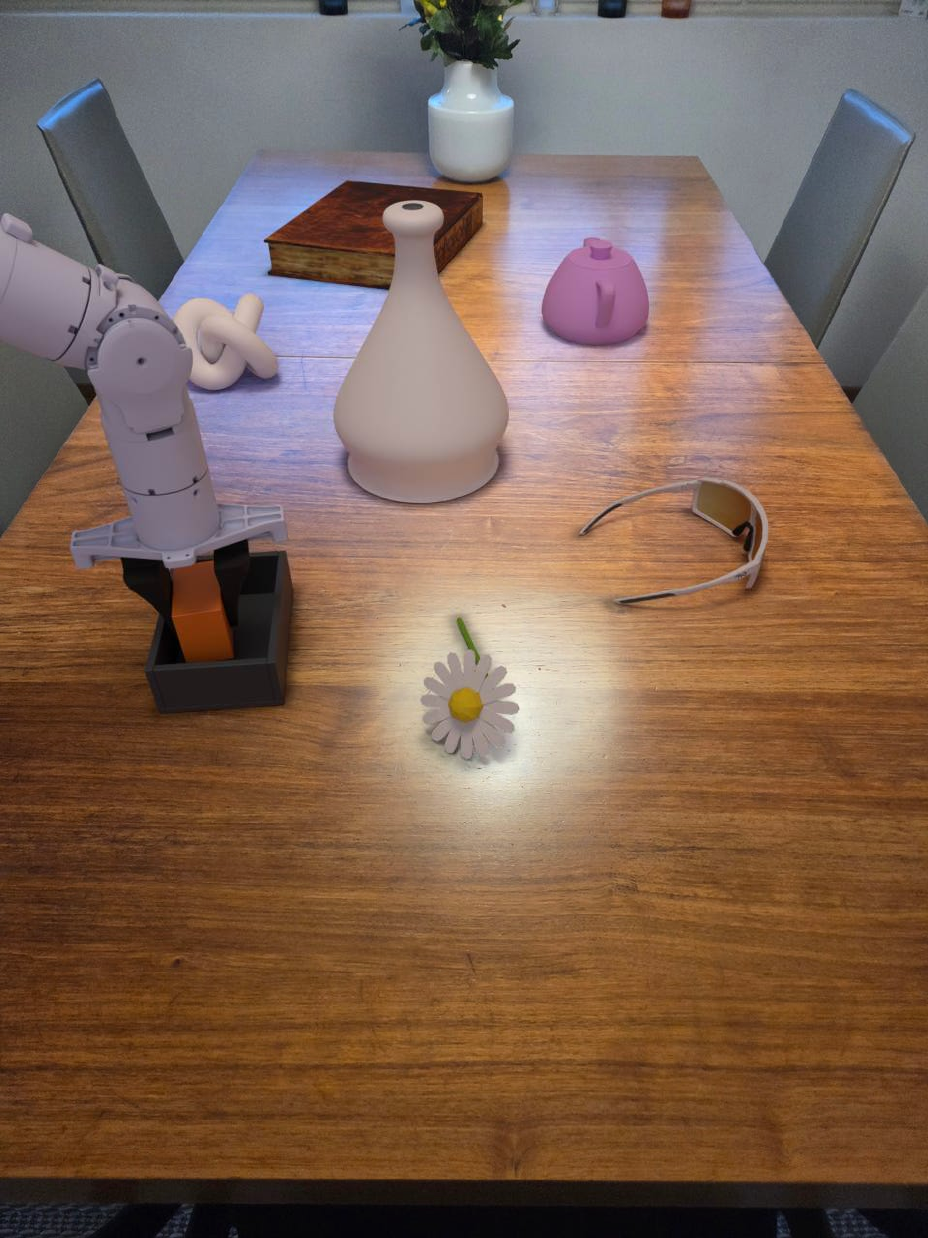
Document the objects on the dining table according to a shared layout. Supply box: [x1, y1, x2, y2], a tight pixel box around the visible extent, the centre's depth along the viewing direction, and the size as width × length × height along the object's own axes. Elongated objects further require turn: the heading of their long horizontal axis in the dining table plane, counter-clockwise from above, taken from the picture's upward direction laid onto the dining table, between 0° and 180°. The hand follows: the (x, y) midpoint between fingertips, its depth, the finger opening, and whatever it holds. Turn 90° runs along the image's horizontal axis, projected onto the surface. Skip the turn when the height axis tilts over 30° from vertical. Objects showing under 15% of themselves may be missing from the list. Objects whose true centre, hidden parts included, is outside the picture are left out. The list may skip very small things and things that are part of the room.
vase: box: [332, 201, 510, 504], centre depth 82 cm, size 17×17×25 cm
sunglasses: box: [578, 476, 770, 605], centre depth 78 cm, size 14×15×5 cm
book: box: [263, 179, 484, 291], centre depth 135 cm, size 30×24×5 cm
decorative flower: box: [419, 617, 520, 760], centre depth 65 cm, size 8×6×15 cm
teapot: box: [541, 236, 650, 346], centre depth 112 cm, size 14×20×11 cm
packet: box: [172, 560, 234, 663], centre depth 67 cm, size 4×6×5 cm, turn 13°
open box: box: [144, 550, 294, 714], centre depth 69 cm, size 9×13×4 cm
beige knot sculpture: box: [172, 292, 279, 391], centre depth 102 cm, size 11×12×9 cm
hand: (206, 622), depth 67 cm, fingers closed on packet, 3 cm apart
